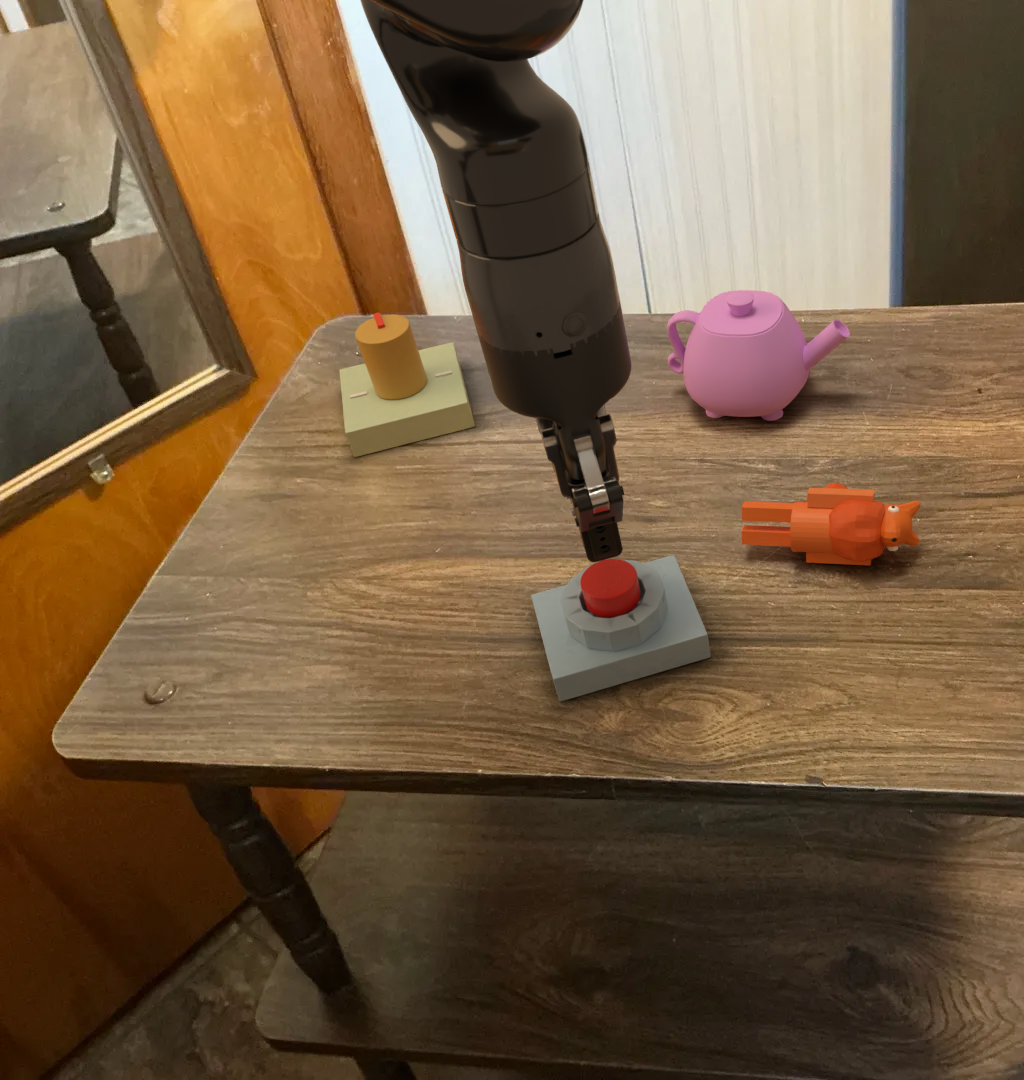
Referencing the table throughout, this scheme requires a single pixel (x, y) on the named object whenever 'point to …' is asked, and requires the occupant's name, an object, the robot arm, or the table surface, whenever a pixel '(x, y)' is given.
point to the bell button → (610, 588)
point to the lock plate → (406, 405)
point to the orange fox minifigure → (833, 525)
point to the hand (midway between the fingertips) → (604, 551)
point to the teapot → (747, 354)
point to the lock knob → (391, 356)
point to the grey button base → (620, 632)
